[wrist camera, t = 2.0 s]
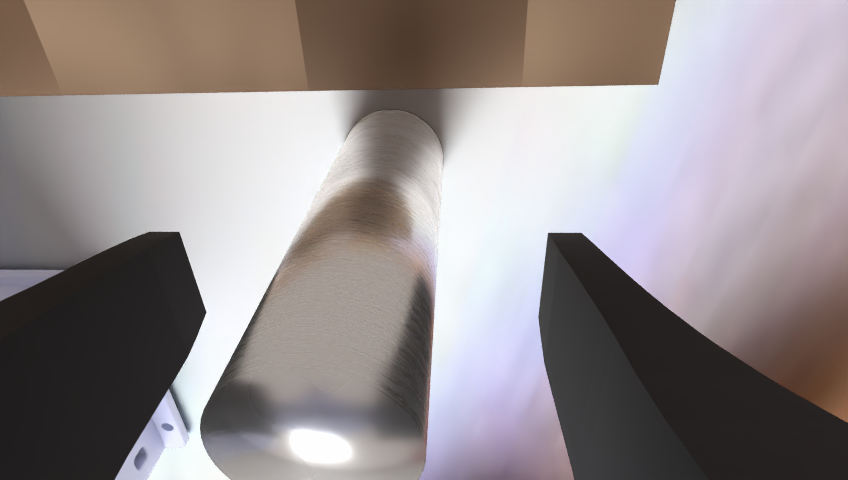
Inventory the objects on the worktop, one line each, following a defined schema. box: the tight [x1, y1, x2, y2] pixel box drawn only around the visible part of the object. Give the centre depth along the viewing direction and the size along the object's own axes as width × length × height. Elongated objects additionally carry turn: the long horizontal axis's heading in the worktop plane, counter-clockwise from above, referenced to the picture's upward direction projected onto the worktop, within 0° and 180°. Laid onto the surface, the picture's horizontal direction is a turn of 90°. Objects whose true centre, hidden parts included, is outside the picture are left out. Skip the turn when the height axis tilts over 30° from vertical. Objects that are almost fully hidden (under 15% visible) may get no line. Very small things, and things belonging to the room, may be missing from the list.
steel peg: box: [200, 109, 443, 480], centre depth 11 cm, size 3×3×10 cm
